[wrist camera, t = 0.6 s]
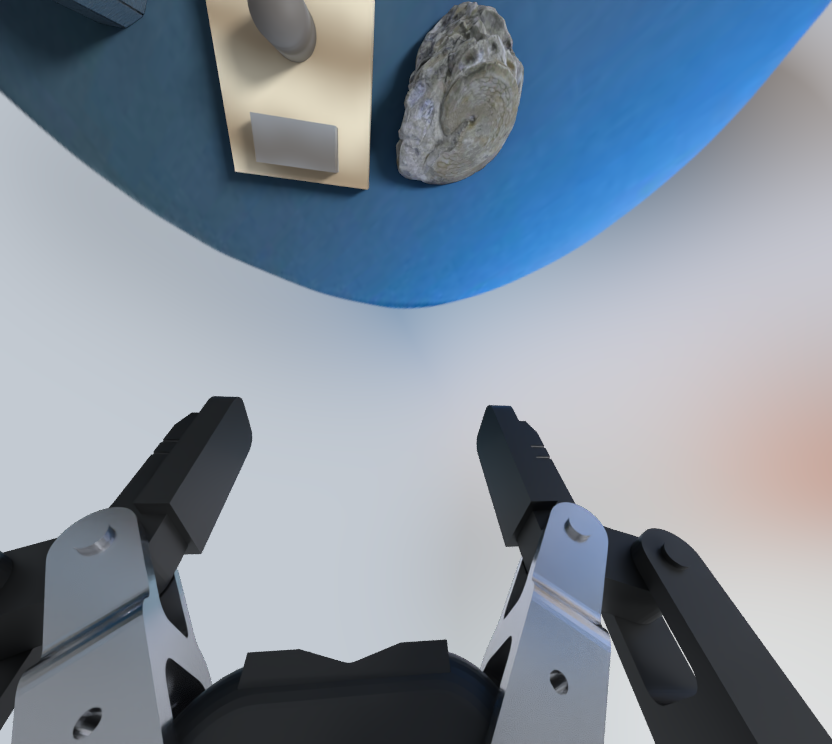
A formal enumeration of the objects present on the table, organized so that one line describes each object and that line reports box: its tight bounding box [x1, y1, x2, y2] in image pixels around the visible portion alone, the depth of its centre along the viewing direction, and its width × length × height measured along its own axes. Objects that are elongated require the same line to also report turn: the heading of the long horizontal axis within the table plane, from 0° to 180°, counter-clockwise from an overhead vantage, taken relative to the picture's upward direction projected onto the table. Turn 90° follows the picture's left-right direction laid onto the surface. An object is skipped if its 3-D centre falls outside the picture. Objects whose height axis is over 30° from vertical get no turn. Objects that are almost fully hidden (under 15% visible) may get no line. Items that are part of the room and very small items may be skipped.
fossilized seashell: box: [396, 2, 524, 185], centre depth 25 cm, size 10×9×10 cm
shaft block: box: [206, 0, 375, 190], centre depth 21 cm, size 18×11×6 cm, turn 173°
